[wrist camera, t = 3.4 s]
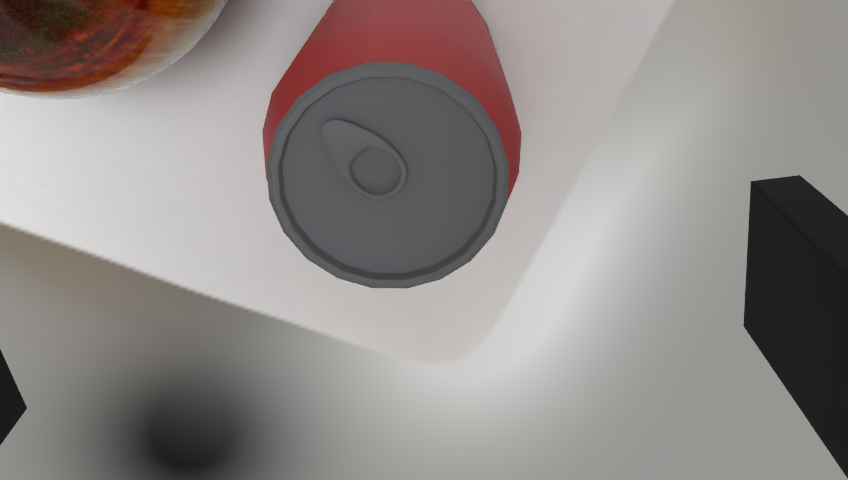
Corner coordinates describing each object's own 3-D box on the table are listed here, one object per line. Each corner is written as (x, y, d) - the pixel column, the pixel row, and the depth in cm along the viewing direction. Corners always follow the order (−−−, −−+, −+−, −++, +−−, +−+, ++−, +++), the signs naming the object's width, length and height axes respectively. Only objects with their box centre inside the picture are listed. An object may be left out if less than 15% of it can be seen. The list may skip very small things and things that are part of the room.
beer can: (403, -76, 26) (384, -30, 16) (530, 62, 28) (592, 187, 18) (276, 60, 28) (183, 183, 18) (404, 179, 31) (390, 355, 20)
